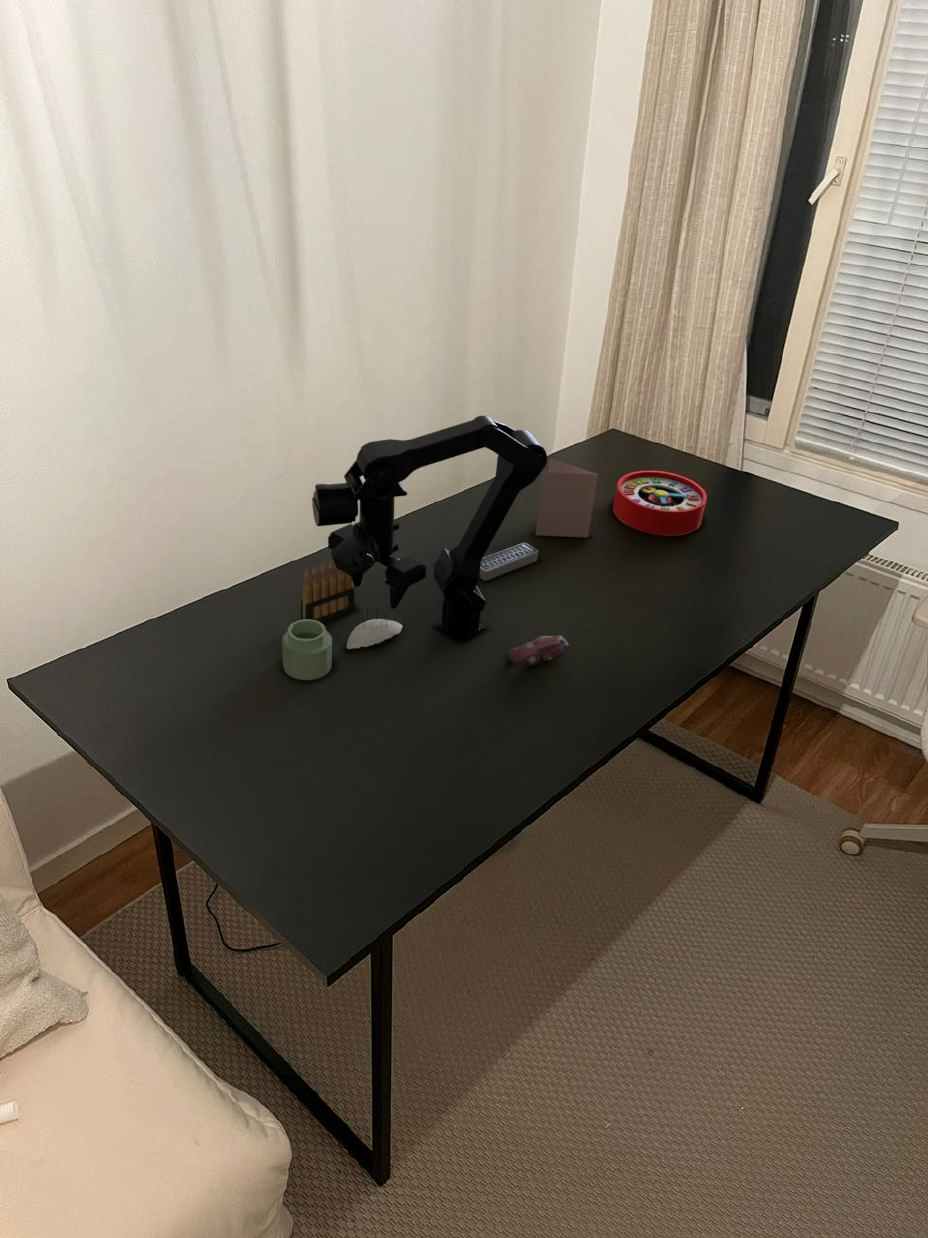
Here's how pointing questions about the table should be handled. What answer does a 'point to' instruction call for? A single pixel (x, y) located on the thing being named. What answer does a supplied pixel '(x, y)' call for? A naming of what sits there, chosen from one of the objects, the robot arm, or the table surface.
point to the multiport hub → (507, 560)
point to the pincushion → (372, 632)
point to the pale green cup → (307, 650)
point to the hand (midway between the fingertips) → (375, 597)
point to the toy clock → (659, 503)
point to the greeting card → (566, 501)
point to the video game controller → (539, 649)
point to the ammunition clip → (326, 594)
